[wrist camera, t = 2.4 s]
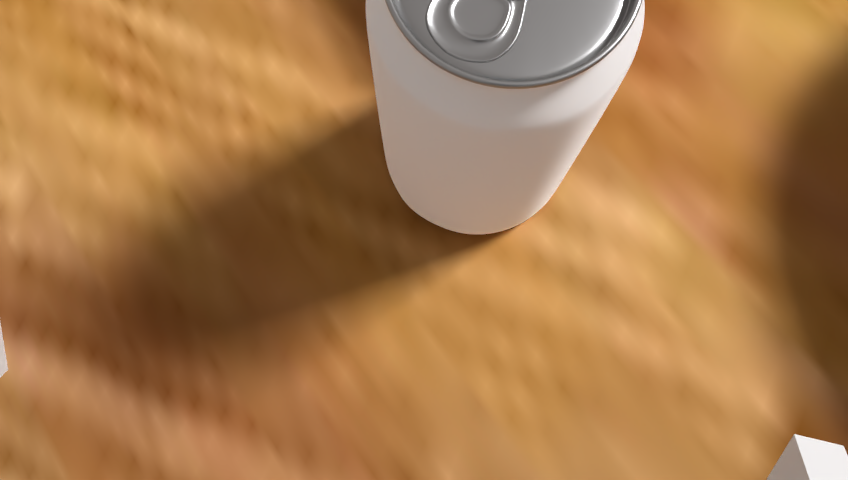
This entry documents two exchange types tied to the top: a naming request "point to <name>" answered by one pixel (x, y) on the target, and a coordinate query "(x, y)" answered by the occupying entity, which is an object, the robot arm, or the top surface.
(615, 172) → the top surface
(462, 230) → the can
